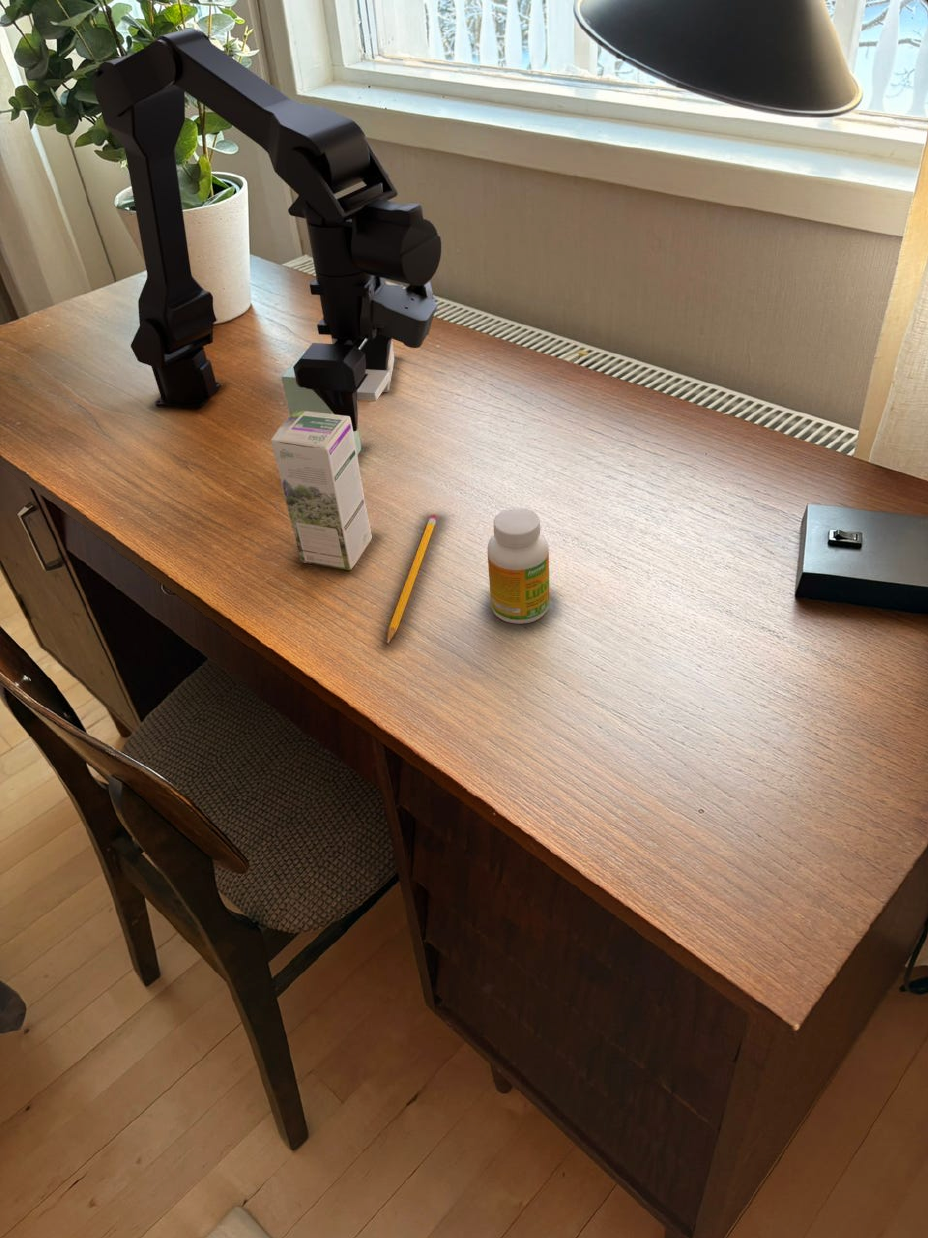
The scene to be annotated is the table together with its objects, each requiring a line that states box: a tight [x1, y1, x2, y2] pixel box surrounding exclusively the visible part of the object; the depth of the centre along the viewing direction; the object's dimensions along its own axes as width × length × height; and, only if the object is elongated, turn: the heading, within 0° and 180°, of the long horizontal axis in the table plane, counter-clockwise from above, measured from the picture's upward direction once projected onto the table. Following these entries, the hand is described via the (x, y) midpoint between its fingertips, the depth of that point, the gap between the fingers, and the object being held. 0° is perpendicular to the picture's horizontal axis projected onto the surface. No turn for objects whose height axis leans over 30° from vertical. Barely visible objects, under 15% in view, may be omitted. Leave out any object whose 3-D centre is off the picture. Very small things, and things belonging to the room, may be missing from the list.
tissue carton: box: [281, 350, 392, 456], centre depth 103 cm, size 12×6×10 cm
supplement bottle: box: [487, 507, 550, 625], centre depth 84 cm, size 5×5×10 cm
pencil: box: [386, 514, 438, 643], centre depth 91 cm, size 1×19×1 cm, turn 169°
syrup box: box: [270, 410, 373, 571], centre depth 90 cm, size 6×6×14 cm
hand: (366, 408), depth 102 cm, fingers open, 9 cm apart
